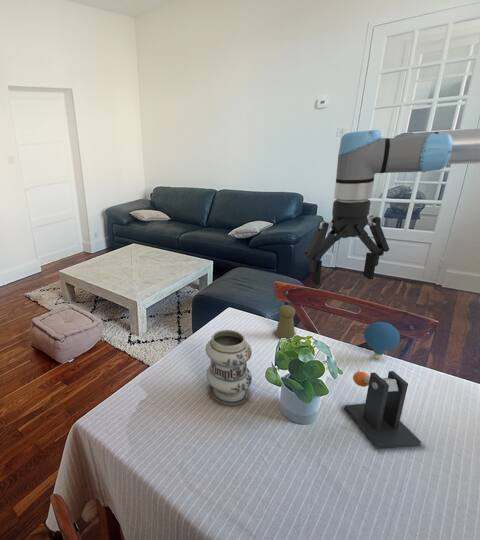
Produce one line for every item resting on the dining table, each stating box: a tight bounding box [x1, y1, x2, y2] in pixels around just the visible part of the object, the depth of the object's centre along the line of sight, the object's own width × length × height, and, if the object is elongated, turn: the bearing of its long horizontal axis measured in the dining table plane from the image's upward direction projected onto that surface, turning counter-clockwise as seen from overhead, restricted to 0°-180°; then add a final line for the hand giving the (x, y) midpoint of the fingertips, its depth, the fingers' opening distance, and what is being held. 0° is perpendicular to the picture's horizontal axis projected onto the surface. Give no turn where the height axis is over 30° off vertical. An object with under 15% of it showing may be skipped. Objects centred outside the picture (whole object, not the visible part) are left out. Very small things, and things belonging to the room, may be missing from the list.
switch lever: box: [352, 371, 398, 392], centre depth 80 cm, size 12×4×4 cm
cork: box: [275, 304, 296, 340], centre depth 116 cm, size 6×6×11 cm
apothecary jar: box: [204, 329, 253, 406], centre depth 92 cm, size 12×12×18 cm
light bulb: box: [363, 321, 401, 360], centre depth 99 cm, size 8×8×12 cm
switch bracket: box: [343, 370, 422, 450], centre depth 77 cm, size 12×9×14 cm
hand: (341, 280), depth 89 cm, fingers open, 13 cm apart
